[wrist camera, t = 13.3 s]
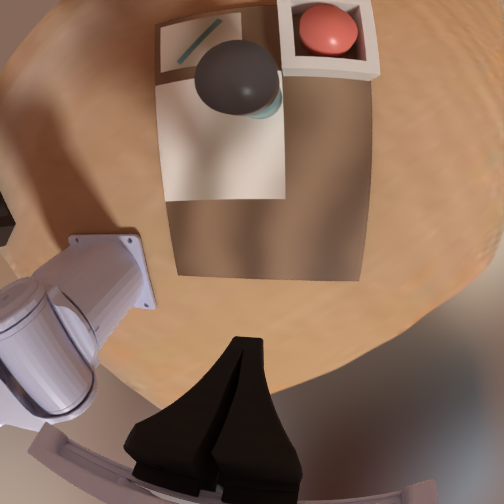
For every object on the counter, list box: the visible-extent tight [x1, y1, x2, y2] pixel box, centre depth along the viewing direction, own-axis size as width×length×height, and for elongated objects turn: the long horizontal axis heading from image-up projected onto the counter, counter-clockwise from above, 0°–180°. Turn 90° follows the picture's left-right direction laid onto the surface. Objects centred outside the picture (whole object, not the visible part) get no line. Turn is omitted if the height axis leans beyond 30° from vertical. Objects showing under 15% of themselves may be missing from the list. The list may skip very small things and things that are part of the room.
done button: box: [299, 5, 358, 58], centre depth 12 cm, size 3×3×2 cm
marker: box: [194, 40, 282, 119], centre depth 12 cm, size 3×3×8 cm
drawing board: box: [155, 5, 372, 281], centre depth 18 cm, size 15×21×1 cm
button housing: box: [277, 0, 380, 81], centre depth 12 cm, size 6×6×2 cm
